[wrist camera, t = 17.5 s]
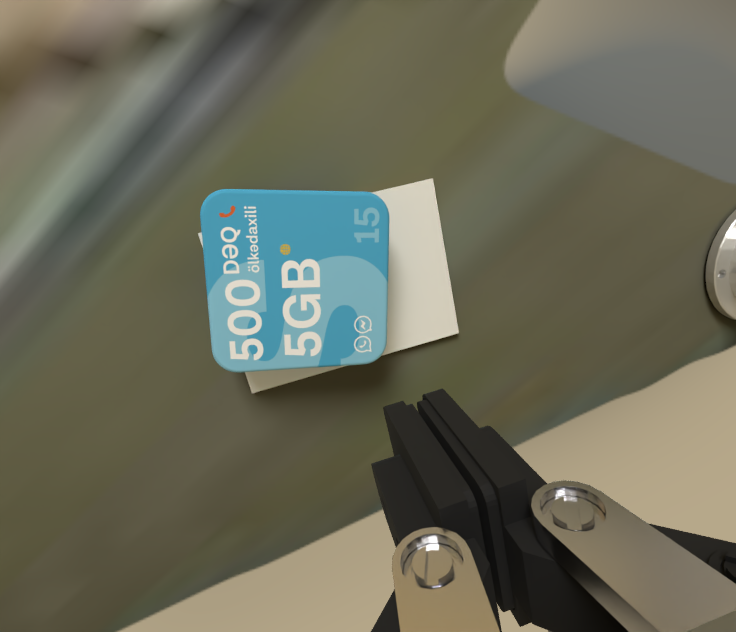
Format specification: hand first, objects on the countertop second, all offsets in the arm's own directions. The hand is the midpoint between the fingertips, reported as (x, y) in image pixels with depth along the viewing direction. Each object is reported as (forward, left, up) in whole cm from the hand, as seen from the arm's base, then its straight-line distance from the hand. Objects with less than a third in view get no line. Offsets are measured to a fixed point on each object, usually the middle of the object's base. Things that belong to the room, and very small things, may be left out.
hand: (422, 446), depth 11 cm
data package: (-4, 0, -20) cm, 21 cm away
